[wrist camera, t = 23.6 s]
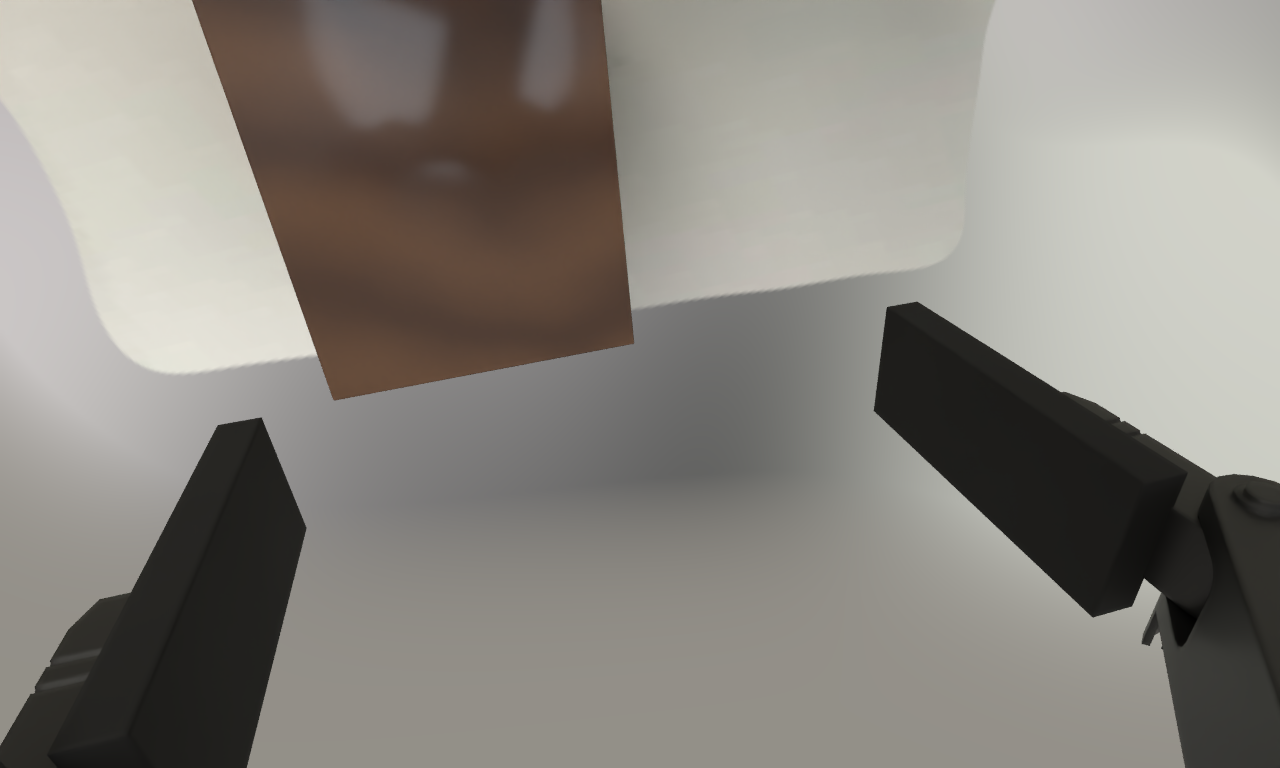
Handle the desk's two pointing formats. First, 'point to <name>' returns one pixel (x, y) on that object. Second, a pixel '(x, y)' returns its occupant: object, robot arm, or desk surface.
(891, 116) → the desk surface
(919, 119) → the desk surface
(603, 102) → the box lid
